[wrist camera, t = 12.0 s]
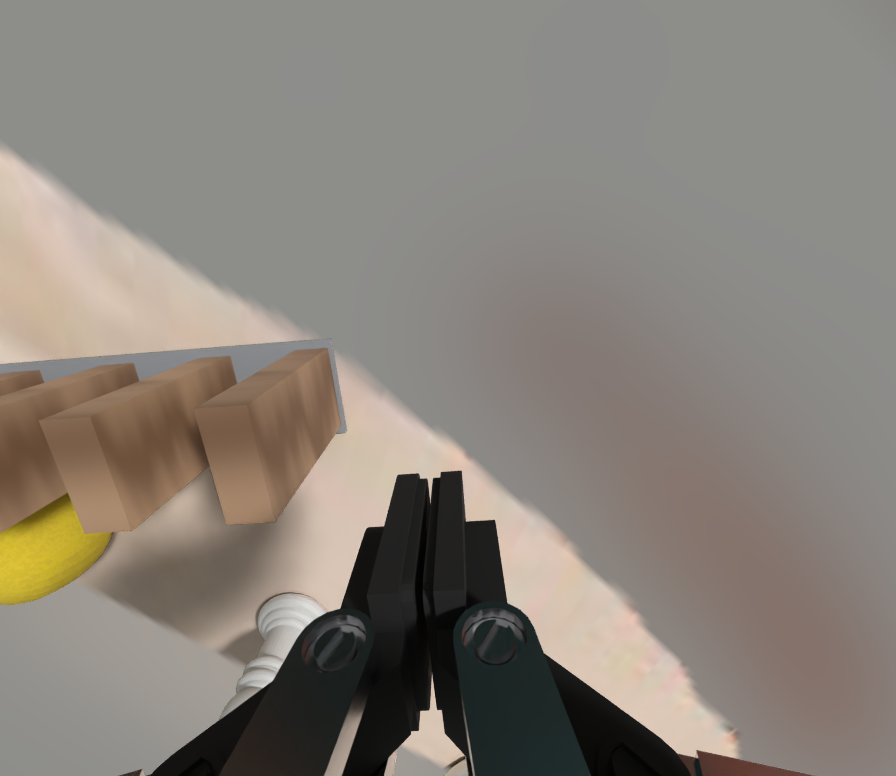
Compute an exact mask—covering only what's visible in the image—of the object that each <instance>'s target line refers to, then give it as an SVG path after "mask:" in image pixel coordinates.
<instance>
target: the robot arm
mask: <svg viewBox="0 0 896 776" xmlns="http://www.w3.org/2000/svg"><path fill="white" fill-rule="evenodd" d="M432 675H433V682H434V690H435V698H436V706H437V710H442V714H443V722H444V730H445V734H446V735H447V736H448V737H449V738H450V739H451V740H452V742H453V743H454V744H455V745H456V746H457V747H458V748H459V749H460V750H461V751H462V753H463V754H464V755H465V760H462V761H461V762H459V763H458V764H456V765H455V766H453V767H452V768H451V769H450V770H449V771H448V772H447V773H446V774H445V775H444V776H814V775H810V774H805V773H800V772H795V771H791V770H786V769H782V768H777V767H773V766H768V765H763V764H759V763H754V762H750V761H745V760H740V759H736V758H731V757H726V756H722V755H717V754H712V753H708V752H703V751H699V750H696V755H695V757H691V756H686V755H682V754H677V753H676V752H675V751H674V750H673V749H672V748H671V747H670V746H669V745H667V744H666V743H665V742H664V741H663V740H662V739H661V738H660V737H658V736H657V735H656V734H654V733H653V732H651V731H650V730H649V729H647V728H646V727H645V726H643V725H642V724H640V723H639V722H638V721H636V720H635V719H634V718H632V717H631V716H629V715H628V714H627V713H625V712H624V711H623V710H621V709H620V708H618V707H617V706H616V705H614V704H613V703H612V702H610V701H609V700H608V699H606V698H605V697H603V696H602V695H601V694H599V693H598V692H597V691H595V690H594V689H592V688H591V687H590V686H588V685H587V684H586V683H584V682H583V681H581V680H580V679H579V678H577V677H576V676H575V675H573V674H572V673H570V672H569V671H568V670H566V669H565V668H564V667H562V666H561V665H560V664H558V663H557V662H555V661H554V660H553V659H551V658H550V657H549V656H547V655H546V654H544V652H543V650H542V647H541V644H540V642H539V639H538V637H537V634H536V631H535V629H534V627H533V625H532V623H531V621H530V620H529V618H528V617H527V616H526V615H525V614H524V613H523V612H522V611H521V610H520V609H518V608H516V607H514V606H512V605H510V604H508V603H507V598H506V591H505V584H504V577H503V571H502V564H501V557H500V550H499V543H498V536H497V529H496V523H495V520H487V521H470V522H466V518H465V505H464V493H463V481H462V471H450V472H441V477H440V478H433V484H432V494H431V504H430V497H429V488H428V480H427V479H420V476H419V473H418V474H403V475H398V476H397V479H396V483H395V486H394V490H393V494H392V498H391V502H390V506H389V510H388V514H387V518H386V521H385V525H384V527H368V528H367V529H366V531H365V533H364V536H363V540H362V543H361V546H360V549H359V552H358V555H357V558H356V561H355V565H354V568H353V571H352V574H351V577H350V580H349V583H348V586H347V590H346V593H345V596H344V599H343V602H342V605H341V608H340V609H337V610H334V611H330V612H327V613H325V614H323V615H321V616H319V617H318V618H316V619H314V620H313V621H312V622H311V623H310V624H308V625H307V626H306V627H305V628H304V629H303V631H302V632H301V633H300V635H299V636H298V637H297V639H296V641H295V643H294V644H293V646H292V648H291V650H290V651H289V653H288V655H287V657H286V658H285V660H284V662H283V664H282V665H281V667H280V669H279V671H278V672H277V674H276V676H275V678H274V679H273V681H272V682H270V683H269V684H268V685H266V686H265V687H264V688H262V689H261V690H259V691H258V692H257V693H255V694H254V695H253V696H251V697H250V698H249V699H247V700H246V701H245V702H243V703H242V704H241V705H239V706H238V707H236V708H235V709H234V710H232V711H231V712H230V713H228V714H227V715H226V716H224V717H223V718H222V719H220V720H219V721H217V722H216V723H215V724H213V725H212V726H211V727H209V728H208V729H207V730H205V731H204V732H203V733H201V734H200V735H199V736H197V737H196V738H195V739H193V740H192V741H190V742H189V743H188V744H186V745H185V746H184V747H182V748H181V749H180V750H178V751H177V752H176V753H174V754H173V755H171V756H170V757H169V758H168V759H167V760H166V761H165V762H164V763H162V764H161V765H160V766H159V767H158V768H157V769H156V770H155V771H154V772H153V773H152V774H151V775H147V776H393V774H394V770H395V764H396V755H397V753H396V749H397V748H398V747H399V746H400V745H401V744H402V743H403V742H404V741H405V740H406V739H407V738H408V737H409V736H410V735H411V731H419V720H420V711H426V710H429V708H430V696H431V678H432ZM120 776H145V773H144V771H143V770H142V769H140V770H137V771H134V772H130V773H127V774H123V775H120Z"/></svg>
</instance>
